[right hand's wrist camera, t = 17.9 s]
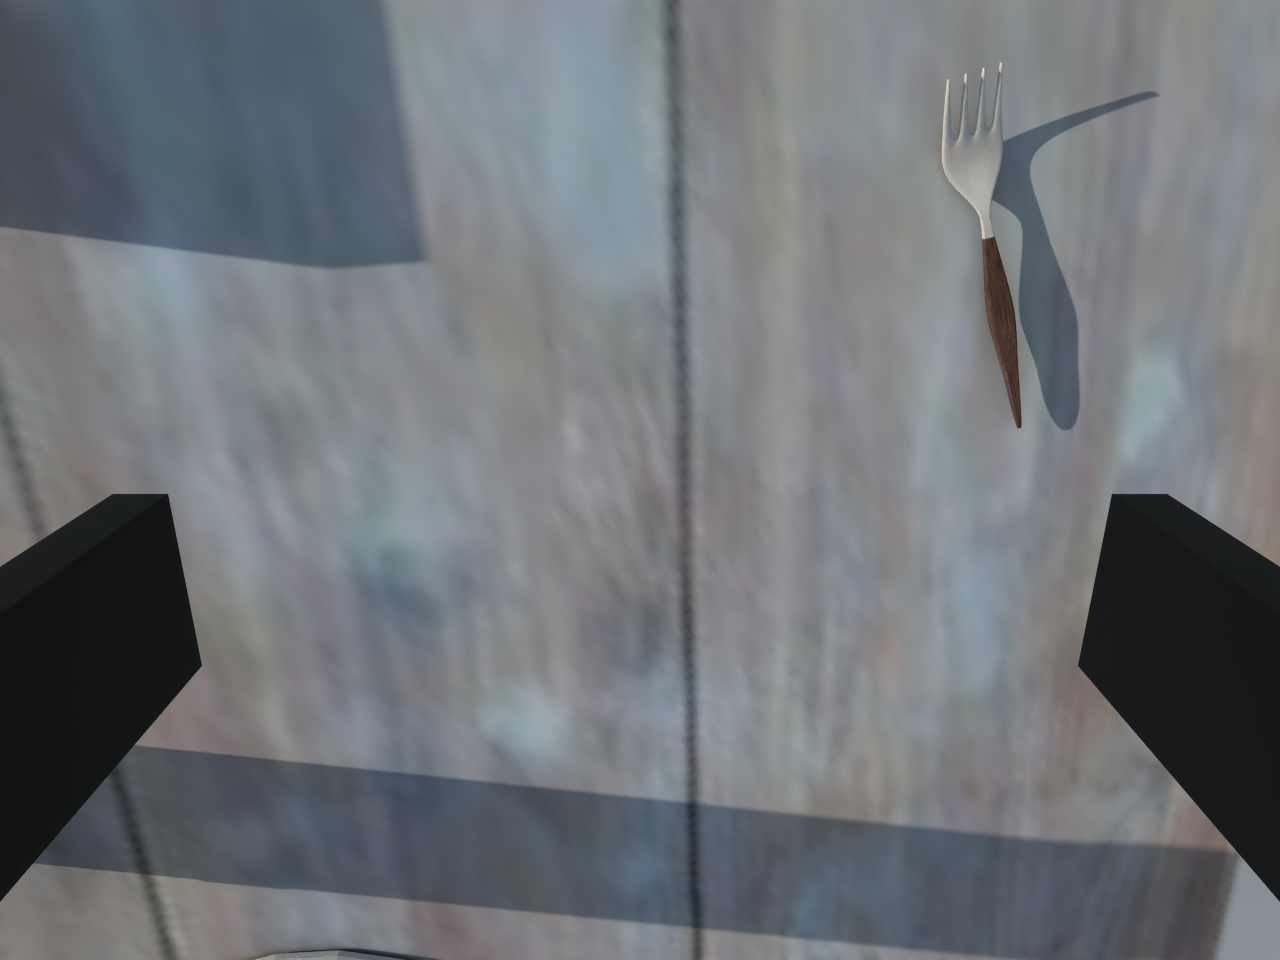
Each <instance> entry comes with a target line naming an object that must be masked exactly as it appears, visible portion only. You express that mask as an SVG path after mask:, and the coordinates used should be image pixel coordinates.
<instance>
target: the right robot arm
mask: <svg viewBox="0 0 1280 960" xmlns="http://www.w3.org/2000/svg"><path fill="white" fill-rule="evenodd" d="M201 666H202V664H201V659H200V654H199V649H198V643H197V638H196V633H195V628H194V623H193V618H192V613H191V608H190V603H189V598H188V593H187V588H186V583H185V578H184V573H183V568H182V563H181V558H180V553H179V548H178V542H177V537H176V532H175V527H174V522H173V517H172V512H171V507H170V502H169V497H168V494H112V495H111V496H109V497H108V498H106V499H104V500H103V501H101V502H100V503H98V504H97V505H95V506H94V507H92V508H91V509H89V510H87V511H86V512H84V513H83V514H81V515H80V516H78V517H77V518H75V519H74V520H72V521H70V522H69V523H67V524H66V525H64V526H63V527H61V528H60V529H58V530H56V531H55V532H53V533H52V534H50V535H49V536H47V537H46V538H44V539H43V540H41V541H39V542H38V543H36V544H35V545H33V546H32V547H30V548H29V549H27V550H26V551H24V552H22V553H21V554H19V555H18V556H16V557H15V558H13V559H12V560H10V561H9V562H7V563H5V564H4V565H2V566H1V567H0V901H1V900H2V899H3V898H4V897H5V895H6V894H7V893H8V892H9V891H10V890H11V888H12V887H13V886H14V885H15V884H16V883H17V881H18V880H19V879H20V878H21V877H22V876H23V874H24V873H25V872H26V871H27V870H28V869H29V867H30V866H31V865H32V864H33V863H34V862H35V860H36V859H37V858H38V857H39V856H40V854H41V853H42V852H43V851H44V850H45V849H46V847H47V846H48V845H49V844H50V843H51V842H52V840H53V839H54V838H55V837H56V836H57V835H58V833H59V832H60V831H61V830H62V829H63V828H64V826H65V825H66V824H67V823H68V822H69V821H70V819H71V818H72V817H73V816H74V815H75V814H76V812H77V811H78V810H79V809H80V808H81V807H82V805H83V804H84V803H85V802H86V801H87V800H88V798H89V797H90V796H91V795H92V794H93V793H94V791H95V790H96V789H97V788H98V787H99V785H100V784H101V783H102V782H103V781H104V780H105V778H106V777H107V776H108V775H109V774H110V773H111V771H112V770H113V769H114V768H115V767H116V766H117V764H118V763H119V762H120V761H121V760H122V759H123V757H124V756H125V755H126V754H127V753H128V752H129V750H130V749H131V748H132V747H133V746H134V745H135V743H136V742H137V741H138V740H139V739H140V738H141V736H142V735H143V734H144V733H145V732H146V731H147V729H148V728H149V727H150V726H151V725H152V724H153V722H154V721H155V720H156V719H157V718H158V717H159V715H160V714H161V713H162V712H163V711H164V709H165V708H166V707H167V706H168V705H169V704H170V702H171V701H172V700H173V699H174V698H175V697H176V695H177V694H178V693H179V692H180V691H181V690H182V688H183V687H184V686H185V685H186V684H187V683H188V681H189V680H190V679H191V678H192V677H193V676H194V674H195V673H196V672H197V671H198V670H199V669H200V667H201ZM1078 666H1079V667H1080V669H1081V670H1082V671H1083V672H1084V673H1085V674H1086V676H1087V677H1088V678H1089V679H1090V680H1091V681H1092V683H1093V684H1094V685H1095V686H1096V687H1097V688H1098V690H1099V691H1100V692H1101V693H1102V694H1103V695H1104V697H1105V698H1106V699H1107V700H1108V701H1109V702H1110V704H1111V705H1112V706H1113V707H1114V708H1115V709H1116V711H1117V712H1118V713H1119V714H1120V715H1121V717H1122V718H1123V719H1124V720H1125V721H1126V722H1127V724H1128V725H1129V726H1130V727H1131V728H1132V729H1133V731H1134V732H1135V733H1136V734H1137V735H1138V736H1139V738H1140V739H1141V740H1142V741H1143V742H1144V743H1145V745H1146V746H1147V747H1148V748H1149V749H1150V750H1151V752H1152V753H1153V754H1154V755H1155V756H1156V757H1157V759H1158V760H1159V761H1160V762H1161V763H1162V764H1163V766H1164V767H1165V768H1166V769H1167V770H1168V771H1169V773H1170V774H1171V775H1172V776H1173V777H1174V778H1175V780H1176V781H1177V782H1178V783H1179V784H1180V786H1181V787H1182V788H1183V789H1184V790H1185V791H1186V793H1187V794H1188V795H1189V796H1190V797H1191V798H1192V800H1193V801H1194V802H1195V803H1196V804H1197V805H1198V807H1199V808H1200V809H1201V810H1202V811H1203V812H1204V814H1205V815H1206V816H1207V817H1208V818H1209V819H1210V821H1211V822H1212V823H1213V824H1214V825H1215V826H1216V828H1217V829H1218V830H1219V831H1220V832H1221V833H1222V835H1223V836H1224V837H1225V838H1226V839H1227V840H1228V842H1229V843H1230V844H1231V845H1232V846H1233V847H1234V849H1235V850H1236V851H1237V852H1238V853H1239V854H1240V856H1241V857H1242V858H1243V859H1244V860H1245V862H1246V863H1247V864H1248V865H1249V866H1250V867H1251V868H1252V870H1253V871H1254V872H1255V873H1256V874H1257V876H1258V877H1259V878H1260V879H1261V880H1262V881H1263V883H1264V884H1265V885H1266V886H1267V887H1268V888H1269V890H1270V891H1271V892H1272V893H1273V894H1274V895H1275V897H1276V898H1277V899H1278V900H1279V901H1280V567H1279V566H1278V565H1276V564H1275V563H1273V562H1271V561H1270V560H1268V559H1267V558H1265V557H1264V556H1262V555H1261V554H1259V553H1258V552H1256V551H1254V550H1253V549H1251V548H1250V547H1248V546H1247V545H1245V544H1244V543H1242V542H1241V541H1239V540H1237V539H1236V538H1234V537H1233V536H1231V535H1230V534H1228V533H1227V532H1225V531H1224V530H1222V529H1220V528H1219V527H1217V526H1216V525H1214V524H1213V523H1211V522H1210V521H1208V520H1206V519H1205V518H1203V517H1202V516H1200V515H1199V514H1197V513H1196V512H1194V511H1193V510H1191V509H1189V508H1188V507H1186V506H1185V505H1183V504H1182V503H1180V502H1179V501H1177V500H1176V499H1174V498H1172V497H1171V496H1169V495H1168V494H1112V497H1111V502H1110V507H1109V512H1108V517H1107V522H1106V527H1105V532H1104V537H1103V542H1102V548H1101V553H1100V558H1099V563H1098V568H1097V573H1096V578H1095V583H1094V588H1093V593H1092V598H1091V603H1090V608H1089V613H1088V618H1087V623H1086V628H1085V633H1084V638H1083V643H1082V649H1081V654H1080V659H1079V664H1078Z"/></svg>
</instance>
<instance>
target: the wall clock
mask: <svg viewBox="0 0 1280 960" xmlns="http://www.w3.org/2000/svg"><path fill="white" fill-rule="evenodd" d="M255 960H404V959H397V958H390V957H383V956H376V955H369V954H362V953H355V952H348V951H341V950H337V951H318V952H300V953H282V954H274V955H270V956H266V957H263V958H259V959H255Z"/></svg>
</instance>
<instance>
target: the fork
mask: <svg viewBox="0 0 1280 960" xmlns="http://www.w3.org/2000/svg"><path fill="white" fill-rule="evenodd" d="M1002 71H1003V63H1002V62H1001V63H1000V66H999V74H998V81H997V88H996V95H995V103H994V112H993V120H992V125H991V127H990V128H989V129H987V128H986V126H985V69H984V68H983V69H982V75H981V83H980V91H979V99H978V108H977V119H976V127H975V131H974V133H973V134H970V133H969V130H968V107H967V74H965V77H964V85H963V94H962V104H961V114H960V126H959V133H958V137H957V138H956V139H953V138H952V133H951V113H950V79H947V87H946V97H945V108H944V121H943V140H942V164H943V168H944V171H945V174H946V176H947V178H948V179H949V181H950V182H951V184H952V185H953V186H954V187H955V188H956V189H957V190H958V191H959V192H960V193H961V194H962V195H963V196H964V197H965V198H966V199H967V200H968V201H969V202H970V203H971V204H972V206H973V207H974V208H975V209H976V211H977V212H978V214H979V217H980V221H981V227H982V242H983V267H984V288H985V303H986V311H987V317H988V322H989V327H990V330H991V334H992V338H993V341H994V345H995V348H996V352H997V355H998V358H999V362H1000V365H1001V369H1002V373H1003V376H1004V380H1005V384H1006V388H1007V392H1008V396H1009V400H1010V404H1011V408H1012V412H1013V416H1014V419H1015V423H1016V426H1017V428H1021V403H1020V389H1019V374H1018V356H1017V334H1016V321H1015V313H1014V307H1013V302H1012V298H1011V294H1010V290H1009V286H1008V282H1007V279H1006V275H1005V272H1004V268H1003V265H1002V261H1001V258H1000V254H999V251H998V247H997V244H996V240H995V236H994V233H993V229H992V224H991V219H990V205H991V200H992V196H993V192H994V189H995V185H996V182H997V179H998V175H999V171H1000V167H1001V162H1002V155H1003V134H1002Z"/></svg>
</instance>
